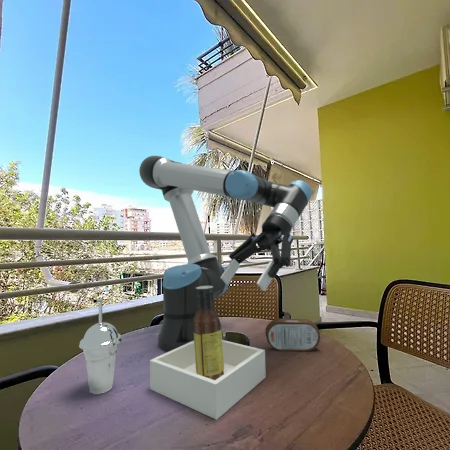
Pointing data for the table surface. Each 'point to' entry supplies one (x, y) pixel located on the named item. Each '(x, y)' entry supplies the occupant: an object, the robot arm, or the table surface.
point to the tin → (292, 335)
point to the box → (202, 386)
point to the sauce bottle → (207, 336)
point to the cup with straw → (100, 353)
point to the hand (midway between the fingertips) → (240, 284)
